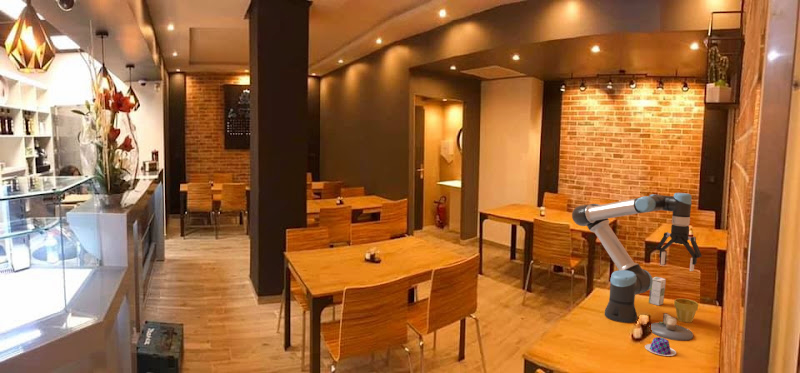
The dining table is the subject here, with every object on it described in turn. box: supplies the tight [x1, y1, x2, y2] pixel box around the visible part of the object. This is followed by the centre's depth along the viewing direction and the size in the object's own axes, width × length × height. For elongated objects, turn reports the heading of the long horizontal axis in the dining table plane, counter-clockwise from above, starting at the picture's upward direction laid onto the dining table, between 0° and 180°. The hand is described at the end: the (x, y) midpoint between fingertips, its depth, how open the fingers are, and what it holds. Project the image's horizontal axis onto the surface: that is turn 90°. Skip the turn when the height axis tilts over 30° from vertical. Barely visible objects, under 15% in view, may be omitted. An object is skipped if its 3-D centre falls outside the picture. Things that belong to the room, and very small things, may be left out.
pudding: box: [644, 336, 677, 357], centre depth 210 cm, size 12×12×5 cm
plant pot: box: [673, 298, 699, 323], centre depth 247 cm, size 10×10×10 cm
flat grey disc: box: [651, 321, 694, 342], centre depth 230 cm, size 18×18×2 cm
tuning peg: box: [662, 312, 678, 330], centre depth 232 cm, size 10×4×5 cm, turn 172°
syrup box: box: [648, 276, 667, 306], centre depth 271 cm, size 6×6×14 cm
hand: (676, 267), depth 238 cm, fingers open, 13 cm apart
